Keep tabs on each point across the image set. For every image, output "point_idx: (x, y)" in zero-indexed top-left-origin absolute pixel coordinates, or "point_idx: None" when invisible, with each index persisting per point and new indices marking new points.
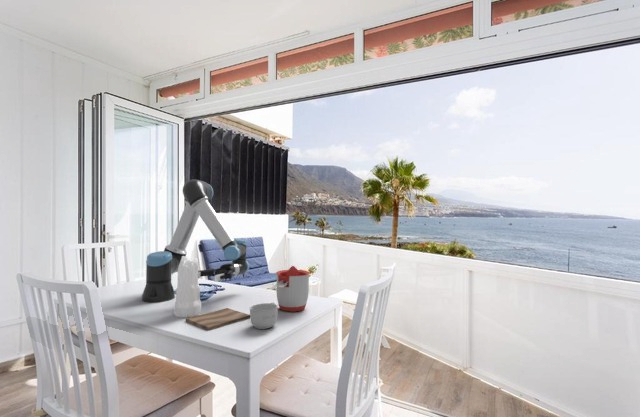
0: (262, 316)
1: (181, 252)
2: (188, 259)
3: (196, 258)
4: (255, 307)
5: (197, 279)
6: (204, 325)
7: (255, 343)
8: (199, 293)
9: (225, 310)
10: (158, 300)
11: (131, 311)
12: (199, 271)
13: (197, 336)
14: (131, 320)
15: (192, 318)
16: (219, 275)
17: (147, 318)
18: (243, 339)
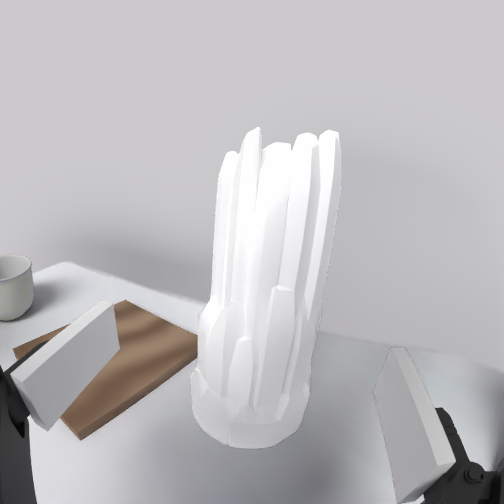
0: (17, 267)
1: None
2: (285, 145)
3: (251, 134)
4: (9, 283)
5: (217, 271)
6: (136, 306)
7: (50, 272)
8: (199, 341)
9: (82, 401)
10: (500, 466)
11: (445, 380)
12: (465, 474)
13: (143, 290)
14: (364, 340)
15: (186, 340)
16: (69, 332)
17: (343, 355)
18: (63, 280)
